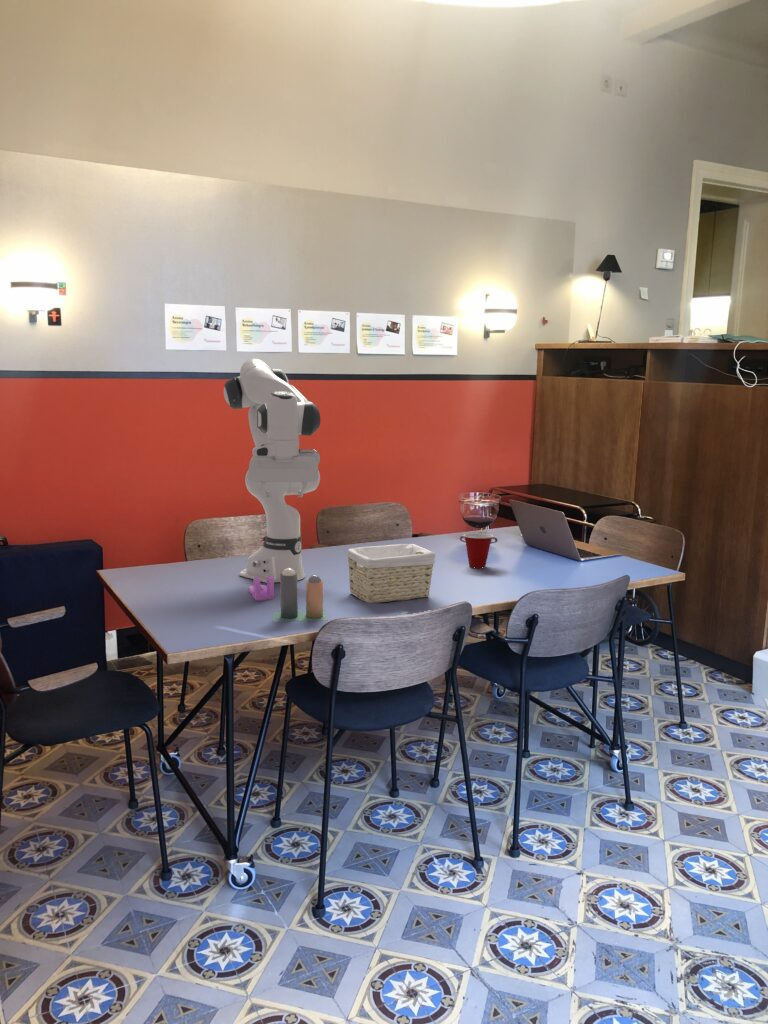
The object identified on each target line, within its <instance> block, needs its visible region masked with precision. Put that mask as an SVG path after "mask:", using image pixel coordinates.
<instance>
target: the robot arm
mask: <svg viewBox="0 0 768 1024" xmlns="http://www.w3.org/2000/svg"><path fill="white" fill-rule="evenodd" d="M239 371H240V372H239V376H233V377H231V378H229V379H228V380H227V381H225V383H224V384H223V386H224V388H223V396H224V399H225V402H226V403H227V404H228V405H229V407H230V408H231V409H233V410H242V409H243V408H249V410H248V425H249V429H250V433H251V437H252V440H253V443H254V447H252V451H251V454H252V457H251V458H250V460H249V465H248V470H247V471H246V474H245V478H244V481H245V486H246V489H247V491H248V493H250V494H251V495H252V496H254V497H255V498H256V499H257V500H258V501H259V502H260V504H261V505H262V507H263V510H264V512H265V517H266V533H267V534H266V535H265V536H264V537H261V538H260V542H261V543H262V542H263V543H262V546H261V547H260V548H259V549H257V550H256V551H255V552H253V553H252V554H251V555H250V556H249V557H248V559H247V562H246V568H244V569H242V570H241V571H240V572H239V576H241V577H243V578H247V579H250V580H253V579H254V577H259V578H260V582H263V583H265V584H267V576H273V579H274V584H276V583H280V574H282V573H283V571H284V570H285V569H286V568H291V569H293V570H294V572H295V573H297V581H300V580H302V579H304V578H306V574H305V571H304V570H305V569H304V566H303V559H302V558H303V557H302V546H303V545H302V541H303V540H302V535H301V515H300V513H299V511H298V509H296V508H295V507H293V506H291V505H289V504H287V503H286V501H285V496H292V495H297V498H303V497H304V494H307V493H311V492H314V491H315V490H317V488H318V487H319V484H320V481H321V474H320V471H319V464H320V462H321V455H320V454H321V453H319V451H317V450H315V449H313V448H311V449H306V448H305V449H303V448H302V449H301V448H300V437H299V436H308V437H309V436H311V437H312V435H313V434H315V433H316V431H318V429H319V428H320V426H321V412H320V410H319V408H318V406H317V405H316V404H315V403H314V402H312V401H310V400H308V399H307V398H306V397H305V396H304V395H303V394H302V393H301V392H300V391H299V390H298V389H297V388H296V387H295V386H294V385H292V384H290V382H289V381H290V380H289V378H288V376H287V375H286V373H285V371H284V370H282V369H281V368H277V367H276V368H275V367H274V368H271V367H270V366H269V365H268V364H267V363H266V362H265V361H264V360H262V359H259V358H256V357H255V358H253V357H252V358H250V359H248V360H246V361H244V362H243V363H242V365H241V367H240V370H239Z"/></svg>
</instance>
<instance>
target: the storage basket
mask: <svg viewBox="0 0 768 1024" xmlns="http://www.w3.org/2000/svg"><path fill="white" fill-rule="evenodd" d="M346 556H347V562H348V574H349V576H348V577H349V592H350V593H351V595H352V596H355V597H356V598H358V600H361V601H364V602H366V603H367V604H368V603H370V604H371V603H375V604H379V603H390V602H393V601H408V600H409V601H410V600H413V599H422V598H428V597H429V596H430V592H431V591H430V588H431V585H432V584H431V583H432V575H433V571H434V564H435V561H436V560H435V558H436V554H435V552H434V551H431V550H429V549H427V548H424V547H421V546H419V545H417V544H415V543H398V544H388V545H387V544H384V545H376V546H375V545H372V546H371V545H370V546H360V547H353V548H349V549H347V555H346Z"/></svg>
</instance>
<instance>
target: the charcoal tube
mask: <svg viewBox="0 0 768 1024" xmlns="http://www.w3.org/2000/svg"><path fill="white" fill-rule="evenodd" d="M279 583H280V584H279V586H280V587H279V588H280V591H279V593H280V596H279V597H280V612H281V617H282V618H295V617H297V616H298V611H299V608H298V607H299V601H298V597H299V596H298V593H299V592H298V588H299V587H298V580H297V573H295V572H294V570H293V569H291V568H286V569H285V570H284V571H283V573H282V574H280V582H279Z"/></svg>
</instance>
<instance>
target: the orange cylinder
mask: <svg viewBox="0 0 768 1024" xmlns="http://www.w3.org/2000/svg"><path fill="white" fill-rule="evenodd" d="M305 611H306V617H309V618H320V617H322V616H323V611H324V580H322V578H321V577H320V576H319V575H317V574H312V575H310V576H309V578H308V579H307V580H306V581H305Z"/></svg>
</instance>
